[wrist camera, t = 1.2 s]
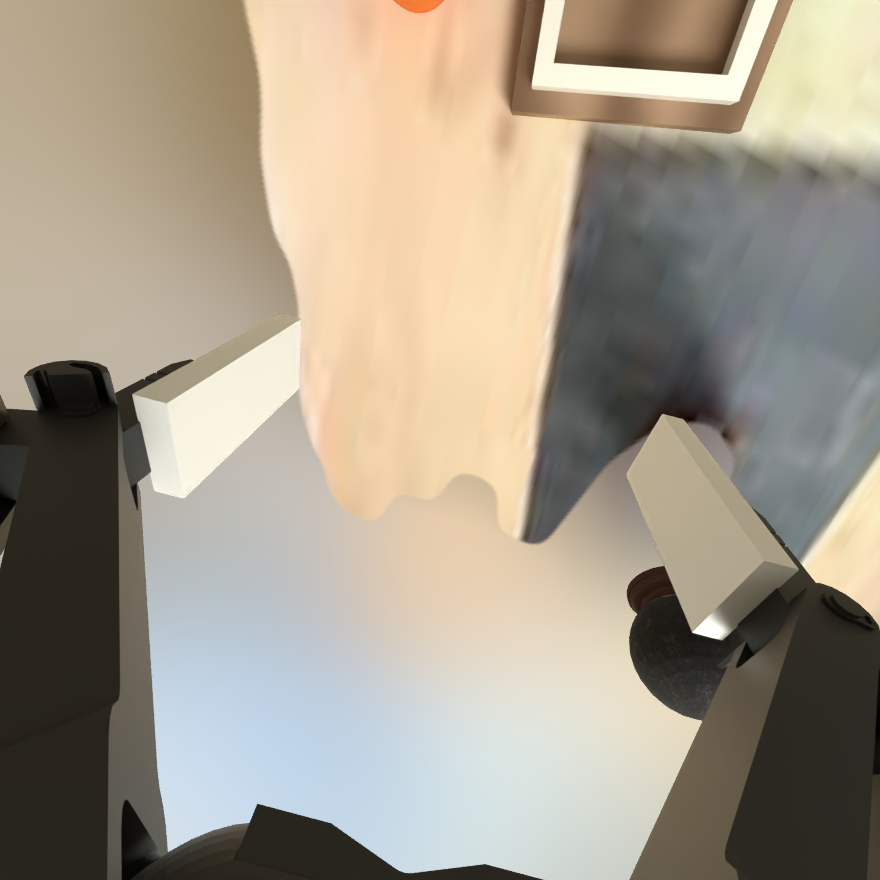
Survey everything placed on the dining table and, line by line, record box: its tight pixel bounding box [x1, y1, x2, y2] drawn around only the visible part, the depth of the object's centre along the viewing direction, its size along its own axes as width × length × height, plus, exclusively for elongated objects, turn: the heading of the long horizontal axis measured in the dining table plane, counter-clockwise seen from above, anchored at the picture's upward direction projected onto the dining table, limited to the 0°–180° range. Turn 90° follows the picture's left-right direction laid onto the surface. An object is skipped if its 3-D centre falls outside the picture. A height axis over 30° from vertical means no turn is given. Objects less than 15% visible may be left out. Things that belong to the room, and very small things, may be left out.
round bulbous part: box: [627, 566, 746, 721], centre depth 49 cm, size 13×13×15 cm
